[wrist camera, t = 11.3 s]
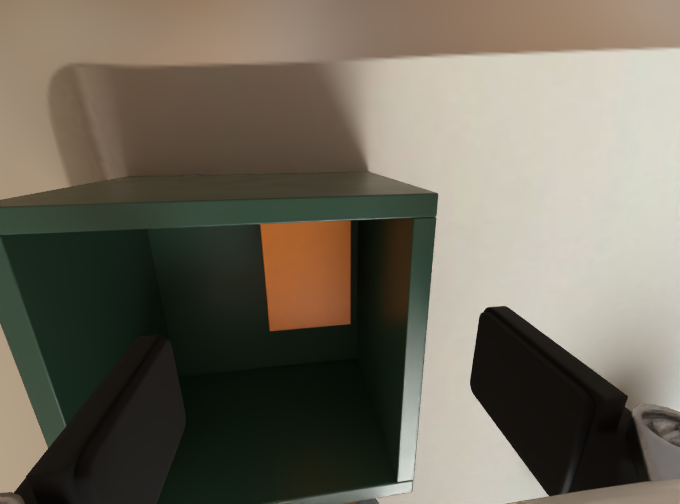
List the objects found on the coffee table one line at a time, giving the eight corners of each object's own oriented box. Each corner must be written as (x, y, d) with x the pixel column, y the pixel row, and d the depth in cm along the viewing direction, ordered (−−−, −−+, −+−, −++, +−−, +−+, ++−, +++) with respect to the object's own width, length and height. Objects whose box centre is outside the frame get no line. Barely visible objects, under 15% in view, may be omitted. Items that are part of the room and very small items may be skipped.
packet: (272, 301, 20) (269, 331, 17) (264, 207, 19) (259, 221, 15) (340, 295, 21) (350, 324, 18) (340, 204, 19) (350, 217, 16)
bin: (126, 176, 18) (-46, 207, 9) (369, 171, 19) (438, 193, 10) (169, 381, 22) (85, 548, 13) (365, 361, 24) (412, 492, 15)
